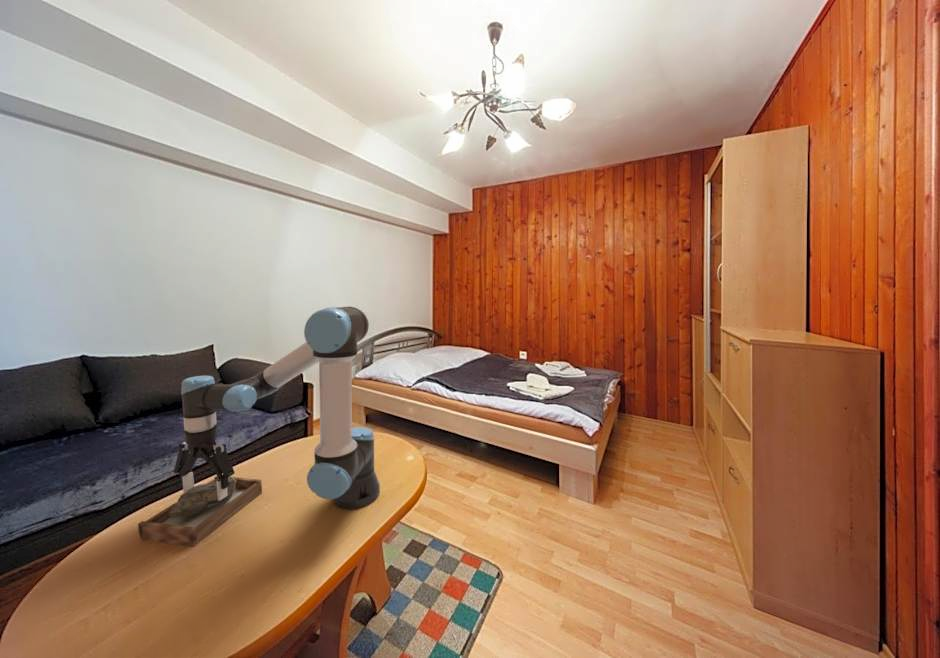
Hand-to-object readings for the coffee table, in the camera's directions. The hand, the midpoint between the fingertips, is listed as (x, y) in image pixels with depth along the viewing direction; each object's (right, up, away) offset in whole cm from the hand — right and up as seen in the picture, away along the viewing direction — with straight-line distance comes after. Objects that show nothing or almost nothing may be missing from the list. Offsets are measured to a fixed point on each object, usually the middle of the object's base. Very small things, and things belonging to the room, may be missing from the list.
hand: (205, 496), depth 99 cm
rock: (-1, -3, 0) cm, 3 cm away
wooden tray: (0, -6, +1) cm, 6 cm away
